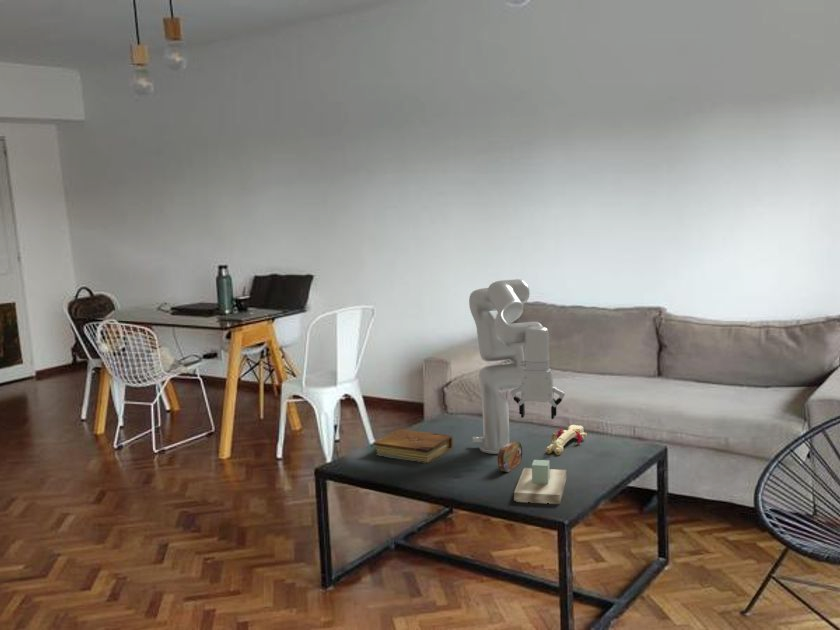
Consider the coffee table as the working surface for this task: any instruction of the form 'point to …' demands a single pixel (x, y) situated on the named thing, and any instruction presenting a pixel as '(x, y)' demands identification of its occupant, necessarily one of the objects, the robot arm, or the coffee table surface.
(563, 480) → the base block
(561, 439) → the cream elongated piece
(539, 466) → the block
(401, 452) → the diary
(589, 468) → the coffee table surface
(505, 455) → the tin
